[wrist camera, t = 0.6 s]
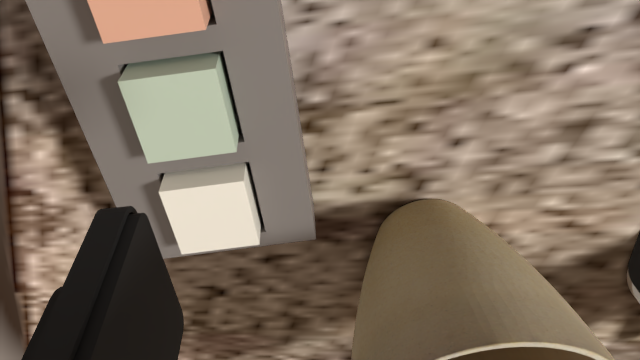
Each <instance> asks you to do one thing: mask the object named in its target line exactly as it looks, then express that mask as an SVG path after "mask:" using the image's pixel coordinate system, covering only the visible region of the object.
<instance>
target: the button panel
mask: <svg viewBox="0 0 640 360" xmlns="http://www.w3.org/2000/svg"><path fill="white" fill-rule="evenodd" d="M25 1H26V3H27V5H28V8H29V10H30V12H31V15H32V17H33V19H34V21H35V24H36V26H37V28H38V30H39V33H40V35H41V37H42V40H43V42H44V44H45V46H46V49H47V51H48V53H49V55H50V58H51V60H52V62H53V65H54V67H55V69H56V71H57V74H58V76H59V78H60V80H61V83H62V85H63V87H64V90H65V92H66V94H67V96H68V99H69V101H70V103H71V105H72V108H73V110H74V112H75V115H76V117H77V119H78V121H79V124H80V126H81V128H82V130H83V133H84V135H85V137H86V140H87V142H88V144H89V146H90V149H91V151H92V153H93V155H94V158H95V160H96V162H97V165H98V167H99V169H100V171H101V174H102V176H103V178H104V180H105V183H106V185H107V187H108V190H109V192H110V194H111V196H112V199H113V201H114V203H115V205H116V207H125V206H132V207H134V208H135V209H136V211H137V213H145V214H146V215H147V217H148V219H149V221H150V224H151V227H152V230H153V232H154V235H155V238H156V241H157V243H158V246H159V249H160V252H161V254H162V257H163V259H165V258H173V257H181V256H189V255H197V254H205V253H213V252H221V251H228V250H236V249H244V248H252V247H260V246H268V245H276V244H284V243H292V242H300V241H308V240H316V229H315V215H314V205H313V198H312V192H311V186H310V180H309V173H308V167H307V161H306V155H305V149H304V142H303V136H302V130H301V124H300V117H299V111H298V105H297V99H296V92H295V86H294V80H293V74H292V67H291V61H290V55H289V49H288V42H287V36H286V30H285V24H284V17H283V11H282V5H281V0H209V4H210V8H211V12H212V14H211V17H210V20H209V22H208V25H207V28H206V30H201V31H194V32H186V33H179V34H172V35H164V36H157V37H150V38H142V39H135V40H128V41H120V42H113V43H106V44H103V41H102V39H101V36H100V33H99V31H98V28H97V25H96V23H95V20H94V17H93V15H92V12H91V9H90V7H89V4H88V1H87V0H25ZM217 51H221V54H222V58H223V62H224V66H225V71H226V75H227V79H228V83H229V87H230V92H231V96H232V100H233V104H234V108H235V112H236V117H237V121H238V125H239V129H240V130H239V138H238V145H237V152H234V153H226V154H218V155H211V156H203V157H195V158H188V159H180V160H172V161H165V162H157V163H149V164H148V162H147V160H146V157H145V154H144V152H143V149H142V146H141V144H140V141H139V138H138V136H137V133H136V130H135V127H134V125H133V122H132V119H131V117H130V114H129V111H128V109H127V106H126V103H125V101H124V98H123V95H122V93H121V90H120V87H119V84H118V80H119V78H120V77H121V75H122V73H123V72H124V70H125V68H126V67H127V65H128V64H129V63H136V62H144V61H151V60H158V59H166V58H173V57H180V56H188V55H195V54H203V53H210V52H217ZM244 162H247V163H248V167H249V171H250V175H251V179H252V184H253V188H254V192H255V196H256V200H257V204H258V209H259V213H260V217H261V230H260V245H253V246H245V247H237V248H229V249H221V250H214V251H206V252H198V253H190V254H181V251H180V248H179V246H178V243H177V240H176V238H175V235H174V232H173V230H172V227H171V224H170V222H169V219H168V216H167V213H166V211H165V208H164V205H163V203H162V200H161V197H160V195H159V189H160V186H161V183H162V180H163V177H164V174H165V173H167V172H175V171H183V170H190V169H198V168H206V167H213V166H221V165H229V164H236V163H244Z"/></svg>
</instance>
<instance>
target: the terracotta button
mask: <svg viewBox="0 0 640 360" xmlns="http://www.w3.org/2000/svg"><path fill="white" fill-rule="evenodd" d="M87 1H88V4H89V7H90V9H91V12H92V15H93V17H94V20H95V23H96V25H97V28H98V31H99V33H100V36H101V39H102V41H103V44H106V43H113V42H120V41H128V40H135V39H142V38H150V37H157V36H164V35H172V34H179V33H186V32H194V31H201V30H206V28H207V25H208V22H209V20H210V17H211V14H212V12H211V8H210V4H209V0H87Z"/></svg>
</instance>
